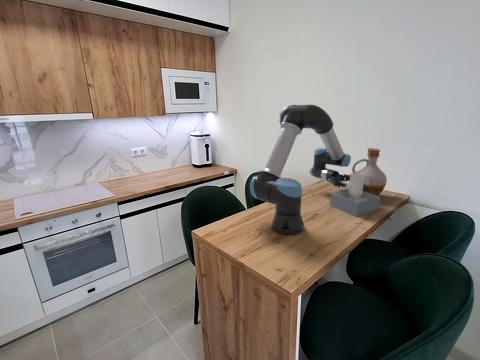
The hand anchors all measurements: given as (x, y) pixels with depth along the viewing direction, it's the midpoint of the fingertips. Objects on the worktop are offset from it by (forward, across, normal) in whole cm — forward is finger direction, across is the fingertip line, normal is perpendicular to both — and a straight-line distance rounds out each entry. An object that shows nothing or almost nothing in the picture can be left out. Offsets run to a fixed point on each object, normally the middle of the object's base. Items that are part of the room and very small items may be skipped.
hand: (360, 184), depth 135 cm
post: (-2, 0, -12) cm, 13 cm away
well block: (-2, 0, -14) cm, 14 cm away
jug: (-10, -21, -14) cm, 27 cm away
